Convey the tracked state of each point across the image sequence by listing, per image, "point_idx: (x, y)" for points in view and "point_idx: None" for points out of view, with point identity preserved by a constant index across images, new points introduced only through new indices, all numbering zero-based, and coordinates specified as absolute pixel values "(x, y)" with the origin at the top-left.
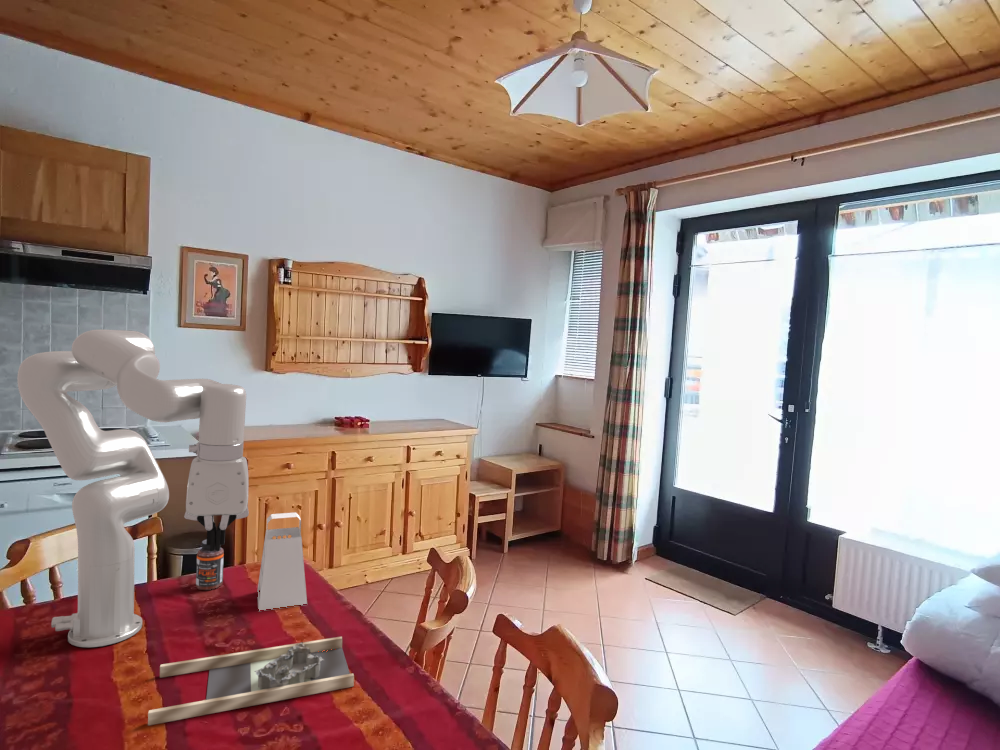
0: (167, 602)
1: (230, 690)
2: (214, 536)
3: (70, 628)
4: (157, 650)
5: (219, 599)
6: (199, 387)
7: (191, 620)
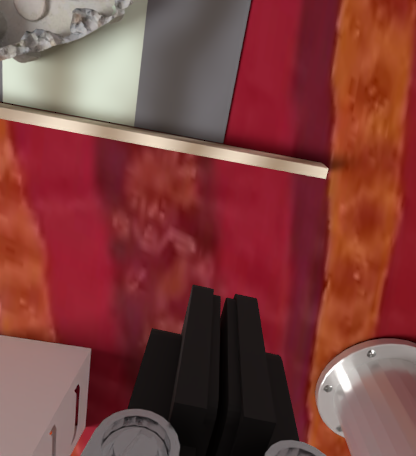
0: None
1: (193, 17)
2: (233, 370)
3: None
4: (306, 278)
5: None
6: None
7: None
